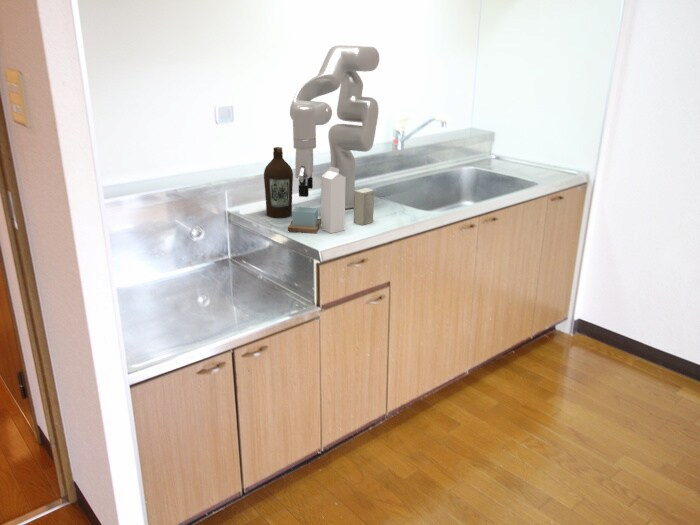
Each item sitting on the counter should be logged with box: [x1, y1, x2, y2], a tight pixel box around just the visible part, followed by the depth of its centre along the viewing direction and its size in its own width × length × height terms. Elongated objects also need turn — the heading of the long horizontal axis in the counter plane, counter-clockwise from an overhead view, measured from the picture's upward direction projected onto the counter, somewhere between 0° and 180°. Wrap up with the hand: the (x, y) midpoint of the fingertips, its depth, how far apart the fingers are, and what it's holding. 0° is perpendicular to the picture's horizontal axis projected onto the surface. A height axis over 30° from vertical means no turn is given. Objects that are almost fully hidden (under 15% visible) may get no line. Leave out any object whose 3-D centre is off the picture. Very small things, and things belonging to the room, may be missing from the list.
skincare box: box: [353, 187, 375, 226], centre depth 221 cm, size 6×4×12 cm
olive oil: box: [263, 146, 294, 219], centre depth 226 cm, size 11×11×25 cm
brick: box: [291, 206, 319, 227], centre depth 215 cm, size 6×8×5 cm
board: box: [287, 218, 321, 234], centre depth 216 cm, size 12×10×2 cm
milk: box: [320, 165, 346, 234], centre depth 211 cm, size 6×6×22 cm
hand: (305, 192), depth 213 cm, fingers open, 9 cm apart
